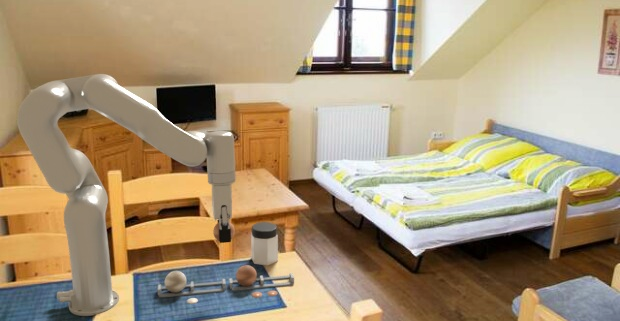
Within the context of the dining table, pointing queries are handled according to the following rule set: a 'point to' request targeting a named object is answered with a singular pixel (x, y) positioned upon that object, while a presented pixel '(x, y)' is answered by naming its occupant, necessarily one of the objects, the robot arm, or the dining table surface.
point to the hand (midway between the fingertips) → (224, 236)
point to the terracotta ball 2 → (246, 275)
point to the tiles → (255, 294)
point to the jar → (264, 243)
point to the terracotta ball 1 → (217, 227)
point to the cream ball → (175, 281)
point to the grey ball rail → (225, 286)
